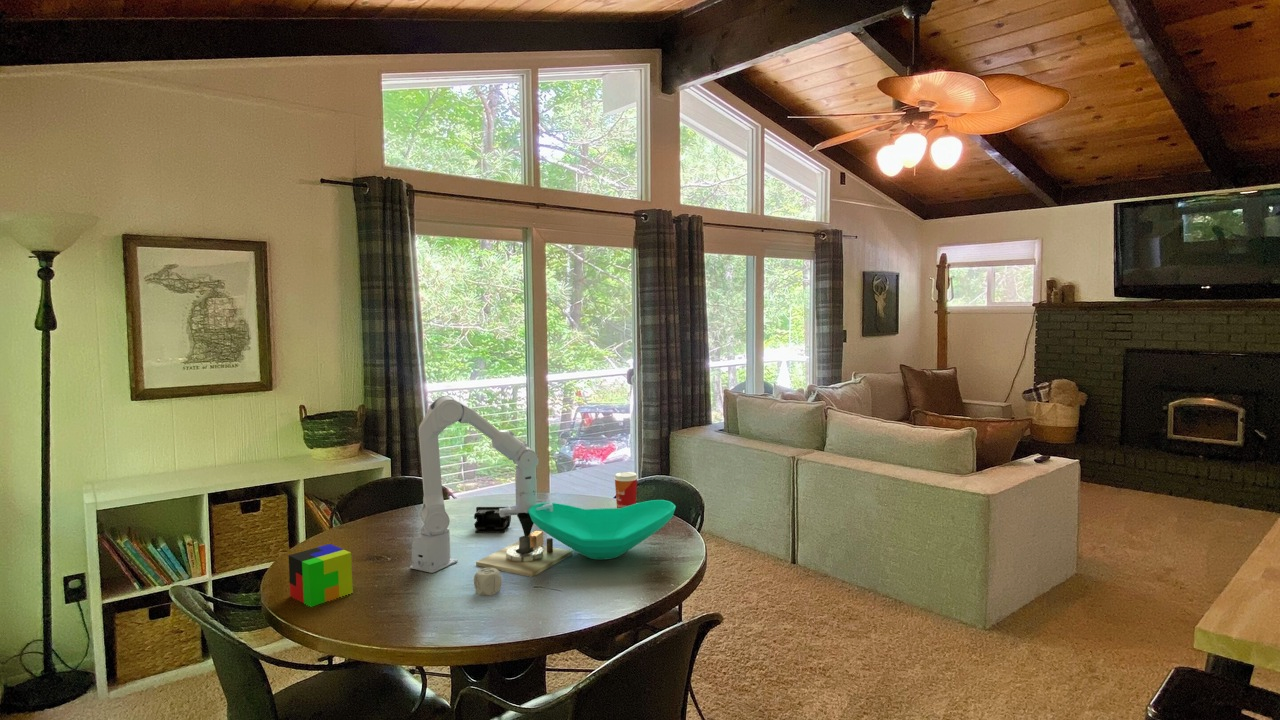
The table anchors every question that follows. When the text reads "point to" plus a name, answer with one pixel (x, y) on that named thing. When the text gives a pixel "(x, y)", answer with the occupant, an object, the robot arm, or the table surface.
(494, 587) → the die
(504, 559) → the board
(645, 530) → the table top decor
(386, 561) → the table surface
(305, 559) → the puzzle toy
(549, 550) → the dowel
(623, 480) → the paper cup
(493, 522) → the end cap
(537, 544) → the flange
